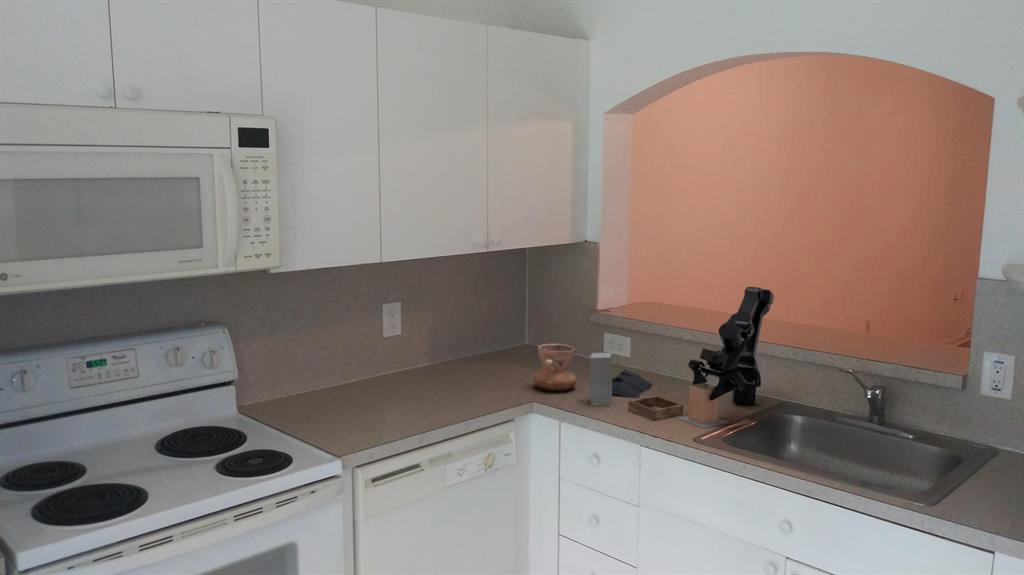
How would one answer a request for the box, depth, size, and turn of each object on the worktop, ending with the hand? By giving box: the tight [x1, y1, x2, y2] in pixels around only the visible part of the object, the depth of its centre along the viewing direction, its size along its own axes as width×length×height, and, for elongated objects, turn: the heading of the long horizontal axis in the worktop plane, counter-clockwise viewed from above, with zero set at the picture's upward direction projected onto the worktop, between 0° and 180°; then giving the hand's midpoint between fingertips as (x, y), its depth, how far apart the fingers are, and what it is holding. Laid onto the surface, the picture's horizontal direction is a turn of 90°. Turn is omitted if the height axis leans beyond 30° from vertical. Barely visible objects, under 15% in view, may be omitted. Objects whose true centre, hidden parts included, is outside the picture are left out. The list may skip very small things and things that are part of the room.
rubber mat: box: [678, 415, 729, 429], centre depth 236 cm, size 10×10×1 cm
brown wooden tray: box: [627, 395, 684, 422], centre depth 243 cm, size 12×12×4 cm
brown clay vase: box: [533, 343, 578, 392], centre depth 270 cm, size 18×14×14 cm
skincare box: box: [589, 352, 613, 407], centre depth 253 cm, size 8×7×16 cm
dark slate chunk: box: [612, 369, 653, 399], centre depth 270 cm, size 15×22×5 cm
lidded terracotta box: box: [687, 382, 720, 424], centre depth 235 cm, size 6×6×10 cm
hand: (700, 396), depth 234 cm, fingers open, 7 cm apart
